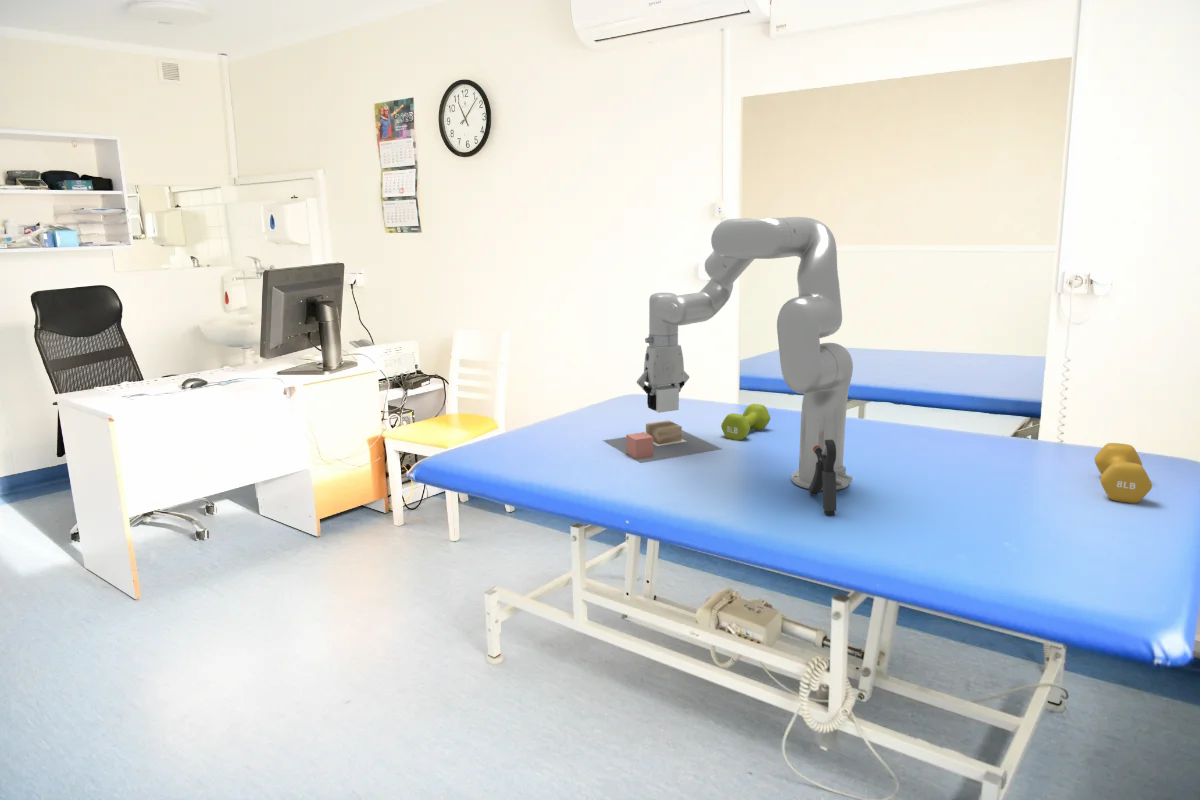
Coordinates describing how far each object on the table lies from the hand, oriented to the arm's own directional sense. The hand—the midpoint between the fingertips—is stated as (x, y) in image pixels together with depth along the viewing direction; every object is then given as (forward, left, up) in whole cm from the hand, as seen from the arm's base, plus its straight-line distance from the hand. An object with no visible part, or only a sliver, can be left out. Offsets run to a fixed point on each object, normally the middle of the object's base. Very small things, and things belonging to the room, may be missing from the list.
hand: (663, 406), depth 207 cm
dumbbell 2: (-79, -68, -10) cm, 105 cm away
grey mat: (-4, +3, -9) cm, 11 cm away
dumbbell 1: (-5, -23, -10) cm, 26 cm away
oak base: (0, 0, -9) cm, 9 cm away
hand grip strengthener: (-56, -6, -10) cm, 57 cm away
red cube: (-9, +12, -9) cm, 18 cm away
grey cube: (0, 0, -1) cm, 1 cm away
